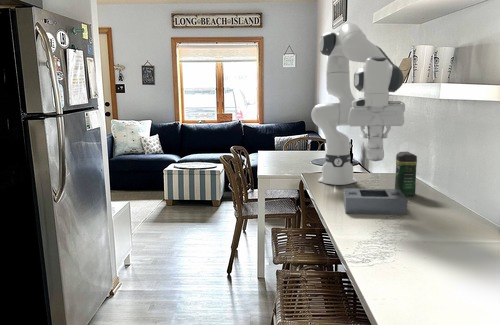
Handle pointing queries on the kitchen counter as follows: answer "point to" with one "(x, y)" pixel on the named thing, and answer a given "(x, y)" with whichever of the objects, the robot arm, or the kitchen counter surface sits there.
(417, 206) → the kitchen counter surface
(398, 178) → the coffee jar
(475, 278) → the kitchen counter surface
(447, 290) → the kitchen counter surface
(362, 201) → the grey slotted block
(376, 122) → the silver bottle
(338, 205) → the kitchen counter surface
